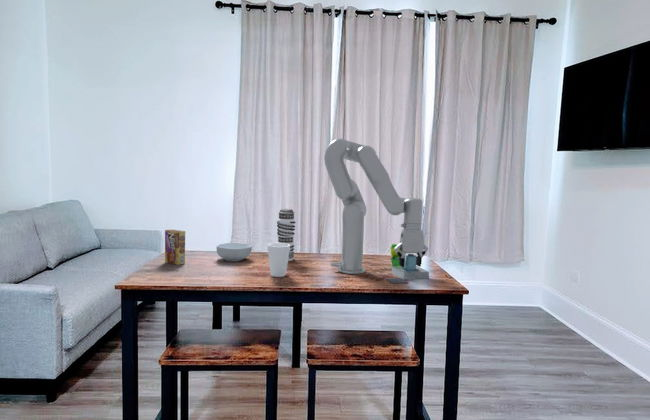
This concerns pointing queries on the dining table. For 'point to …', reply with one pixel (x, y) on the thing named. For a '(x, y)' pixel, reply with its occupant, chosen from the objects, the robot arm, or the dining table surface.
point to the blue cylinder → (410, 262)
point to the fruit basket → (395, 256)
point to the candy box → (175, 247)
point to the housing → (410, 273)
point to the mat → (396, 281)
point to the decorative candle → (286, 229)
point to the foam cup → (278, 258)
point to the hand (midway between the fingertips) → (410, 265)
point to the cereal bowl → (234, 251)
